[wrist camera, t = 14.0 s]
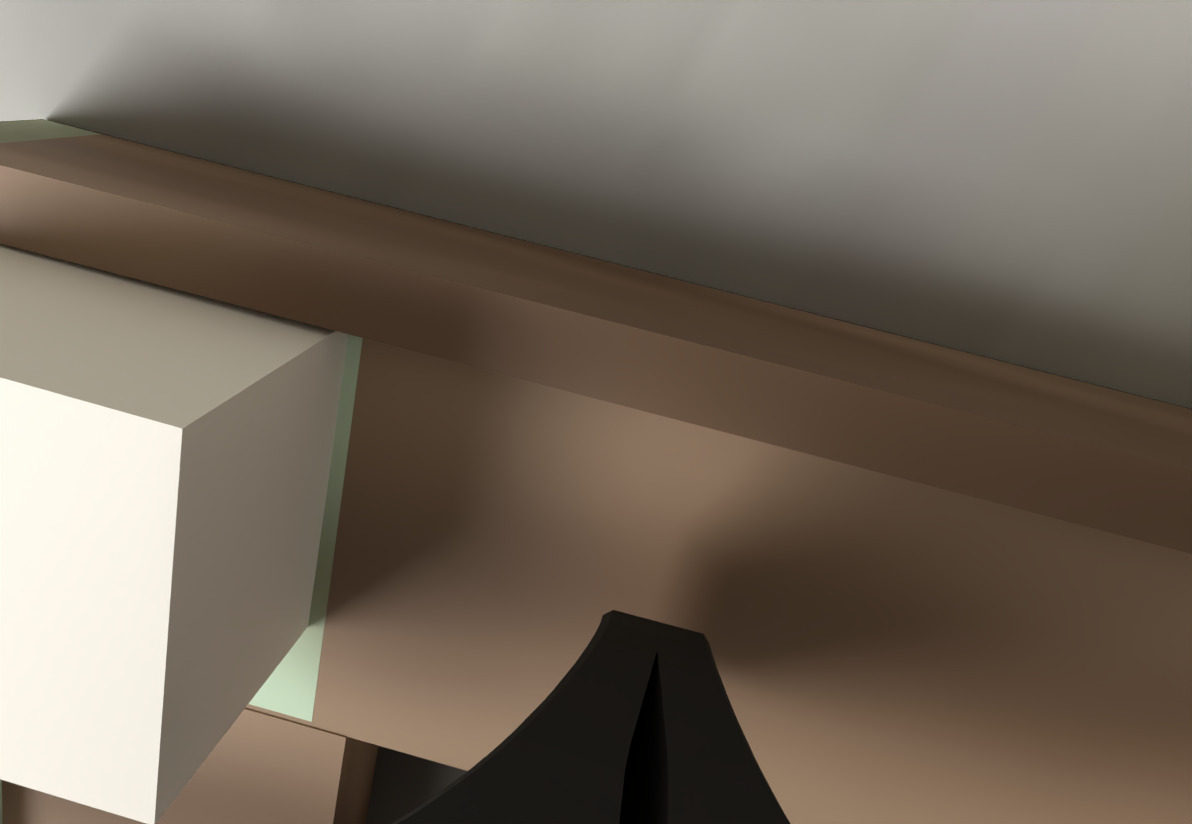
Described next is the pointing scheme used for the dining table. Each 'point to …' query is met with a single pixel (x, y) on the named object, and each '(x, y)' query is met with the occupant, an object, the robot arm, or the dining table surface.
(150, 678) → the block
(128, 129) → the dining table surface
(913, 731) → the trap box
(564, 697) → the robot arm
